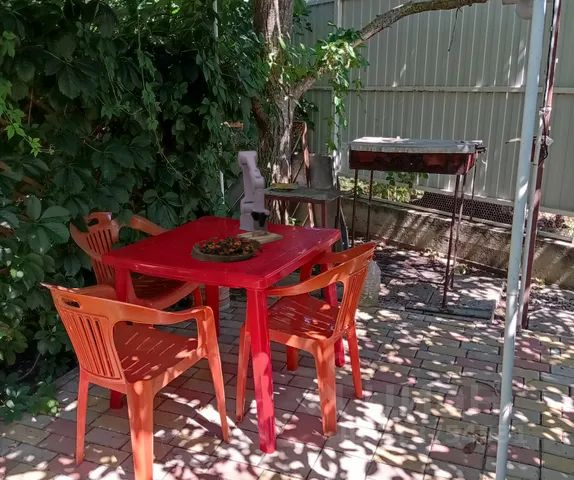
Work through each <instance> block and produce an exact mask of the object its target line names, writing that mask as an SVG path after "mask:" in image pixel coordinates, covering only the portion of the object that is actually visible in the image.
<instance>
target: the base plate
mask: <svg viewBox="0 0 574 480" xmlns="http://www.w3.org/2000/svg"><path fill="white" fill-rule="evenodd" d="M241 237H245V239H243V241H248V242H249V240H250V239H253V240H255V239H256V241H259V242H260V243H261V245H262V244H267V243H271V242H275V241H279V240H283V239H284V235H281V234H278V233H274V232H270V231H268V228H267V229H264V230H259V231H258V230H255V229H252V231H248V232H245V233H241V234H236V239H239V238H241Z"/></svg>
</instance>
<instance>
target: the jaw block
mask: <svg viewBox="0 0 574 480" xmlns="http://www.w3.org/2000/svg"><path fill="white" fill-rule="evenodd" d="M253 225H254V229H255V231H257V230H258V231H259V230H262V231H264V229H267V230H268V220H267V219H266V221H265V225H264V227H260V220H259V219H257V220H253Z"/></svg>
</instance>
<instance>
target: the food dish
mask: <svg viewBox="0 0 574 480" xmlns="http://www.w3.org/2000/svg"><path fill="white" fill-rule="evenodd" d="M216 239H218V237H217V236H216V237H211V238H209V239H205V240H202V241H200V242H196V243H195V244H194V245H193V246H192V250H191V253H190V255H189V256H191V255H192V256H191V258H192V257H193V258H195V259H197V260H200V261H213V262H212V263H215V262H223V263H231V262H237V261H238V262H239V261H242V260H248V259H250V258H252V257H253V256H256V255H257V253H259V252H260V250H261V249H262V247H263V245H262V244H261V243H260V242H259V241H256V239H255V240H253V239H250V240H249V241H247V240H243V239H245V237H241V238H237V237H236V236H235V235H234V236H233V235H231V236H226V238H224V239H220V240H219V241H218V242H215V241H214V240H216ZM204 242H205V244H202V245H201V246H200V244H199V243H204ZM258 249H259V250H258ZM193 258H192V259H193ZM197 260H196V261H197ZM200 261H199V262H200ZM230 261H231V262H230Z"/></svg>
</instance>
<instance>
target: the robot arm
mask: <svg viewBox="0 0 574 480" xmlns="http://www.w3.org/2000/svg"><path fill="white" fill-rule="evenodd" d="M237 160H238V161H237V163H238V166H239V167H240V168H241V170H242V177H243V178H242V179H243V187H244V188H243V189H244V197H243V198H242V199H240V206H239V209H240V213H241V215H240V216H239V217H240V218H239V222H240V223H239V225H240V227H239V230H241V231H246V232H252V229H254V225H253V220H257V219H259V220H260V227H264V225H265V221H266V220H267V218H268V216H269V215H270V210H268V209H266V208H265V189H266V180H265V177H263V176H262V174H261V171H260V169H259V168H257V161H258V152H257V151H256V150H247V151H245V150H243V151H238V153H237Z"/></svg>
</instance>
